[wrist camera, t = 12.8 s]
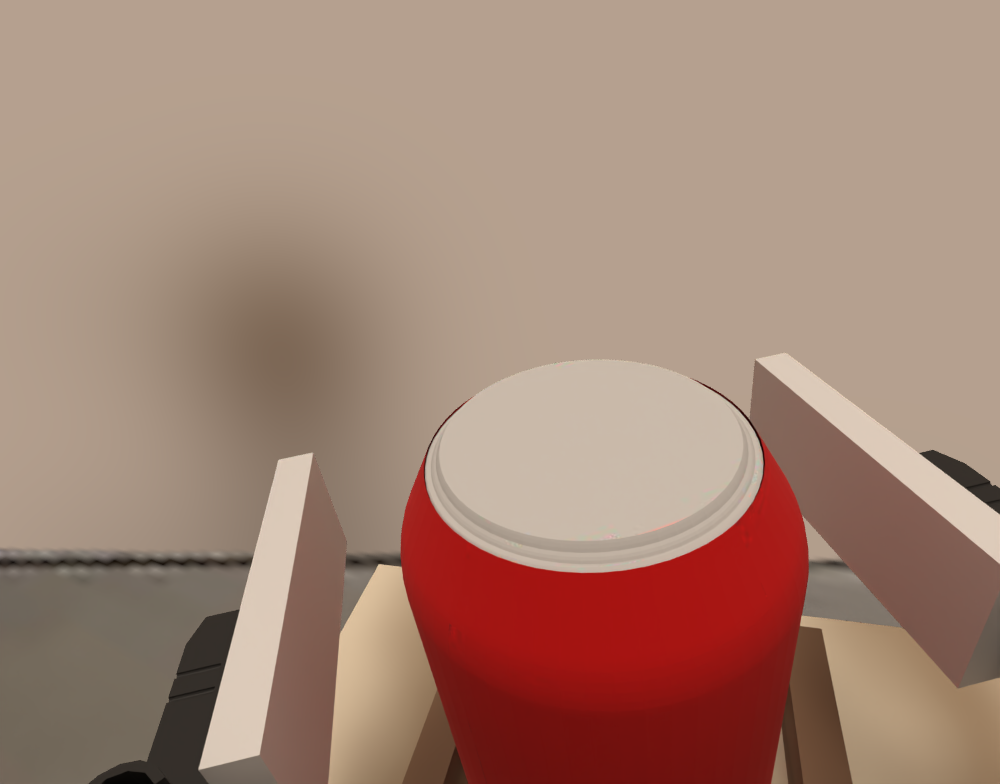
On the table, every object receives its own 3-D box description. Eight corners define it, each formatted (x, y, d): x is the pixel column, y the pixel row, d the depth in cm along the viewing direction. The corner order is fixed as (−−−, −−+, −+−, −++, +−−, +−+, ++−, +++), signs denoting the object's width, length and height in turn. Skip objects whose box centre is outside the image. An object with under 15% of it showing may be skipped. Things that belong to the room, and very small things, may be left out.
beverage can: (562, 1072, 11) (444, 713, 5) (461, 763, 17) (342, 399, 10) (815, 908, 13) (954, 481, 7) (652, 671, 18) (646, 305, 12)
